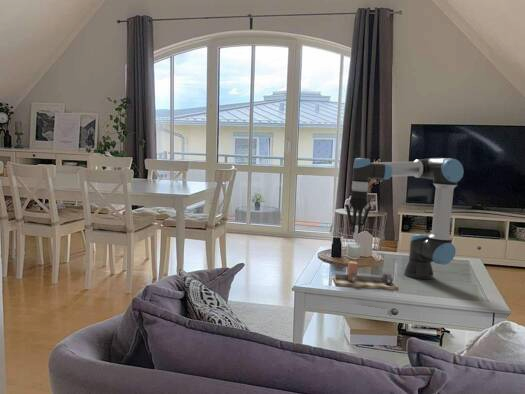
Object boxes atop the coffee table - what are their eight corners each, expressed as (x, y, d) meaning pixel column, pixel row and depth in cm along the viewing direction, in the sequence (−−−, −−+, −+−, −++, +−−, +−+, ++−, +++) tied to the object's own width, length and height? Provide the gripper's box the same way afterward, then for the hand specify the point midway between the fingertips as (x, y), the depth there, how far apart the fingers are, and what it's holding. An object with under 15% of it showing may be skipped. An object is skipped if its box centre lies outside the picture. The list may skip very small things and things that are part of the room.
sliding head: (354, 278, 243) (356, 261, 242) (357, 282, 235) (359, 265, 234) (346, 277, 243) (348, 261, 242) (349, 281, 235) (350, 264, 234)
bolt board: (391, 283, 244) (392, 280, 244) (398, 289, 232) (398, 287, 232) (332, 278, 244) (332, 276, 244) (335, 285, 232) (335, 282, 232)
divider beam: (390, 284, 242) (391, 273, 242) (394, 288, 235) (395, 276, 234) (334, 279, 242) (335, 269, 242) (336, 283, 235) (337, 272, 235)
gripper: (371, 190, 235) (367, 238, 237) (344, 189, 235) (340, 236, 237) (374, 192, 228) (370, 241, 230) (347, 190, 228) (342, 239, 230)
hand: (355, 239), depth 234 cm, fingers closed
